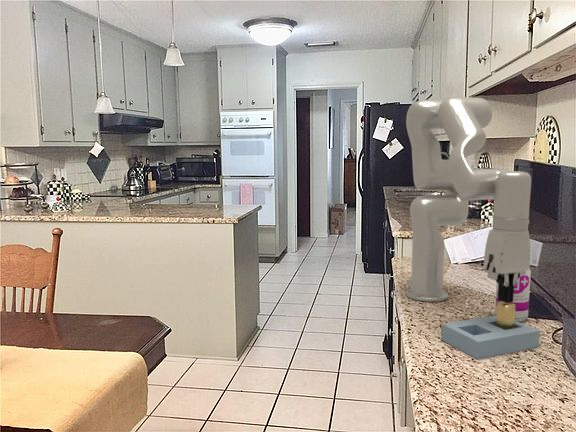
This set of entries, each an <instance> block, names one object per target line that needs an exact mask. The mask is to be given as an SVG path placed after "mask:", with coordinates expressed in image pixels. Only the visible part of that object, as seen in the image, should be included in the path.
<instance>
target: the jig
mask: <svg viewBox="0 0 576 432" xmlns="http://www.w3.org/2000/svg"><path fill="white" fill-rule="evenodd" d="M540 332H541V330H539V329H538V328H534V327H532V326H530V325H528V324H525V323H522V322H517V321H515V320H514V329H508V330H504V329H501V328H499V327H497V326H496V314H494V315H491V316H483V317H478V318H471V319H465V320H459V321H458V320H457V321H454V322H451V321H450V322H445V323H441V341H443V342H444V343H446V344H448V345H449V346H452V347H453V348H456V349H458V350H459V351H461V352H463V353H464V354H467V355H468V356H470V357H472V358H474V359H476V360H481V359H486V358H492V357H497V356H502V355H506V354H511V353H518V352H522V351H527V350H531V349H536V348H540V336H541V335H540V334H541V333H540Z"/></svg>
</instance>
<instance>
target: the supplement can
mask: <svg viewBox="0 0 576 432" xmlns="http://www.w3.org/2000/svg"><path fill="white" fill-rule="evenodd" d="M530 268H531V267H529V268H528V269H527V270H526V274H525V275H523V276H521V277H519V279H518V280H517V284H516V285H515V286H514V295H513V302H511V303H514V304H515V319H514V320H515V321H517V322H520V323H522V322H525V321H526V320H527V319H528V318H529V306H530V293H531V291H530V289H531V274H532V270H531V269H530ZM502 277H503V276H502ZM495 291H496V292H495V306H494V307H495V308H494V309H495V310H494V315H496V312H497V302H500V300H498V284H497V283H496V289H495Z"/></svg>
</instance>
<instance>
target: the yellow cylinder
mask: <svg viewBox="0 0 576 432" xmlns="http://www.w3.org/2000/svg"><path fill="white" fill-rule="evenodd" d="M495 315H496V326H497V327H499V328H501V329H504V330H508V329H514V319H515V304H514V303H511V302H509V303H506V302H503V301H500V302H497V312H496V314H495Z"/></svg>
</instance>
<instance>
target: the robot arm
mask: <svg viewBox="0 0 576 432" xmlns="http://www.w3.org/2000/svg"><path fill="white" fill-rule="evenodd" d="M492 118H493V109H492V105H491V104H490V103H489V102H488V100H486V99H485V98H482V97H470V96H469V97H467V96H466V97H462V96H456V97H449V98H447V99H421V100H418V101H415V102H413V103H412V104H411V105H410V106H409V108H408V110H407V113H406V119H405V125H406V130H407V135H408V138H409V142H410V146H411V159H412V176H413V183H414V186H415V188H416V189H418V190H419V191H428V192H429V191H431V192H432V191H435V192H436V191H445V194H427V195H420V196H418V197H416V198H414V199H412V202H411V203H410V207H409V213H410V215H409V216H410V220H411V228H412V230H411V231H412V232H411V233H412V234H411V235H412V242H411V243H412V244H411V245H412V246H411V247H412V248H411V274H410V275H411V277H410V278H408V279H407V280H406V284H409V288H408V289H406V291H405V295H406V297H408V298H409V299H412V300H416V301H420V302H430V303H431V302H432V303H434V302H442V301H446V300H447V299H448V298H449V295H448V292H447V291H445V290H443V289H444V267H445V265H444V264H445V262H444V261H445V239H444V236H443V235H442V233H441V231H440V230H439V228H438V227H446V226H450V227H451V226H459V225H462V224H464V223H465V222H466V221H467V219H468V216H469V201H482V200H485V201H487V200H489V201H491V200H493V213H492V214H493V215H492V229H490V230H489V233H488V236H487V238H486V243H485V247H484V248H485V249H484V257H483V270H484V271H487V274H486V275H487V276H486V277H487V278H489V279H491V280H494V281H495V283H496V285H497V284H498V300H500V301H503V302H506V303H509V302H513V295H514V286H515V285H516V284H517V280H518V279H519V277H521V276H523V275H525V274H526V270H527V269H528V268H530V260H531V239H530V233H529V232H530V231H529V230H528V229H529V224H530V219H529V217H530V205H531V204H530V202H531V188H532V177H531V175H530V173H528V172H526V171H518V170H510V169H507V168H506V169H504V168H471V167H470V165H469V163H468V161H467V159H466V158H468V157H469V156H471V155H473V154H475V153H477V152H479V150H481V149H482V148H483V147H484V146H485V143H486V141H487V135H486V133H485V131H484V129H483V128H486V127H488V125H490V123H491V121H492ZM432 129H434V130H435V129H437V130H438V129H439V130H444V132H445V133H446V136H447V138H448V140H449V142H450V144H451V146H452V149H451V152H450V154H449V157H448V159H443V158H442V153H441V144H440V142H439V141H440V140H438V138H437V135H435V133H434V132H433V131H431V130H432ZM502 276H503V277H502Z"/></svg>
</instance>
